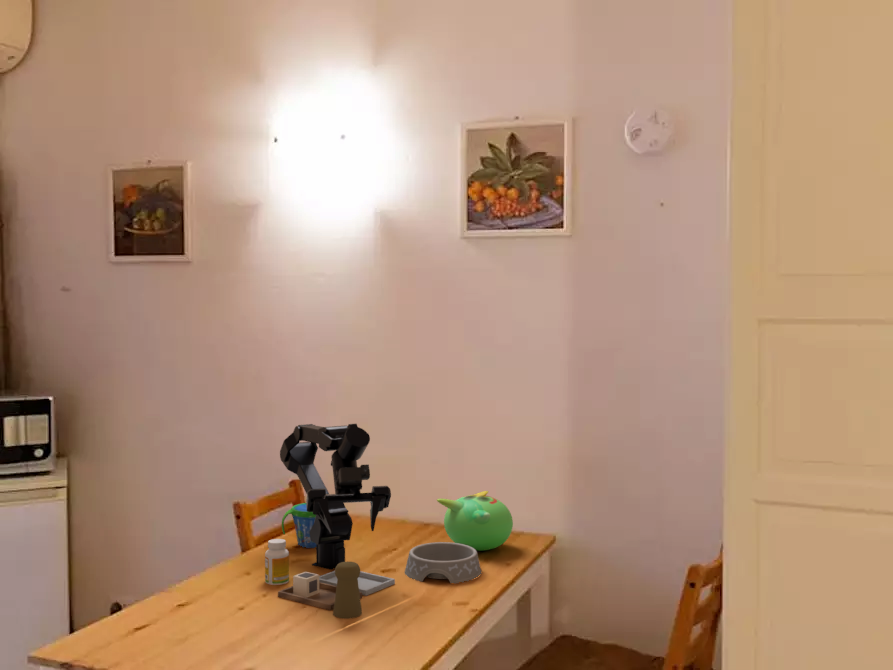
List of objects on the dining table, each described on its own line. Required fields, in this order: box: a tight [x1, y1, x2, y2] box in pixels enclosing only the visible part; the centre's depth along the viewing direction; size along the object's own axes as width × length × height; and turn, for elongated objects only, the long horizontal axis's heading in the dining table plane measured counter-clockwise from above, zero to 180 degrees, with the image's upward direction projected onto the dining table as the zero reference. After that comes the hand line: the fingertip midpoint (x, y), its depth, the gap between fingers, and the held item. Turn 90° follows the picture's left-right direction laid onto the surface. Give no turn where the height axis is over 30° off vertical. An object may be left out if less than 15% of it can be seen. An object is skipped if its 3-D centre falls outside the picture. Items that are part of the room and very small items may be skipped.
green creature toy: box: [436, 490, 514, 552], centre depth 249 cm, size 18×17×15 cm
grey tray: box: [319, 570, 396, 597], centre depth 219 cm, size 15×10×2 cm
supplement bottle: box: [264, 538, 290, 586], centre depth 220 cm, size 5×5×10 cm
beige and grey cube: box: [292, 571, 320, 598], centre depth 212 cm, size 4×4×4 cm
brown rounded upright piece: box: [332, 561, 363, 620], centre depth 199 cm, size 6×6×11 cm
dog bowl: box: [404, 541, 482, 584], centre depth 229 cm, size 17×18×5 cm
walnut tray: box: [277, 582, 363, 612], centre depth 209 cm, size 15×10×2 cm
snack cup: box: [281, 502, 316, 549], centre depth 252 cm, size 16×10×10 cm
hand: (352, 531), depth 213 cm, fingers open, 9 cm apart
